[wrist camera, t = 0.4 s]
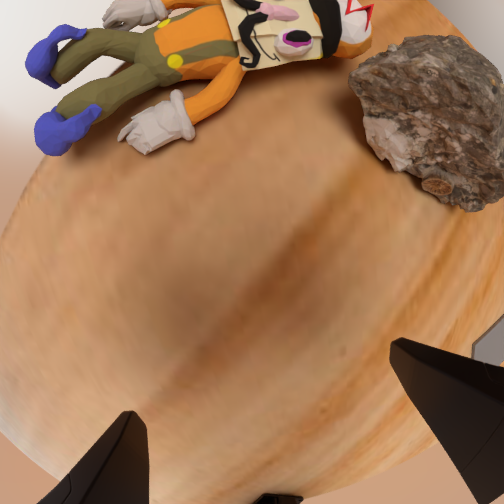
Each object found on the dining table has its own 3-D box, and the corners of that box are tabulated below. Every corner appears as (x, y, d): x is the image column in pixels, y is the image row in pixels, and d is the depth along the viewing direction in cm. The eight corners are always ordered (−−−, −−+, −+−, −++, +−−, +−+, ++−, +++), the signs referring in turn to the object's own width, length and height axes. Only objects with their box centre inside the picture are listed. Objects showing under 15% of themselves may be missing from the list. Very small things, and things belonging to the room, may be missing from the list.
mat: (467, 392, 28) (469, 394, 27) (472, 344, 27) (475, 345, 26) (510, 349, 29) (512, 350, 28) (514, 302, 28) (517, 302, 27)
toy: (18, 24, 8) (359, -57, 9) (66, 49, 18) (324, -15, 18) (37, 198, 15) (426, 99, 15) (91, 180, 24) (367, 109, 24)
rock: (523, 143, 6) (534, 28, 4) (313, 69, 16) (391, -9, 13) (479, 254, 20) (520, 155, 18) (378, 188, 30) (429, 108, 27)
